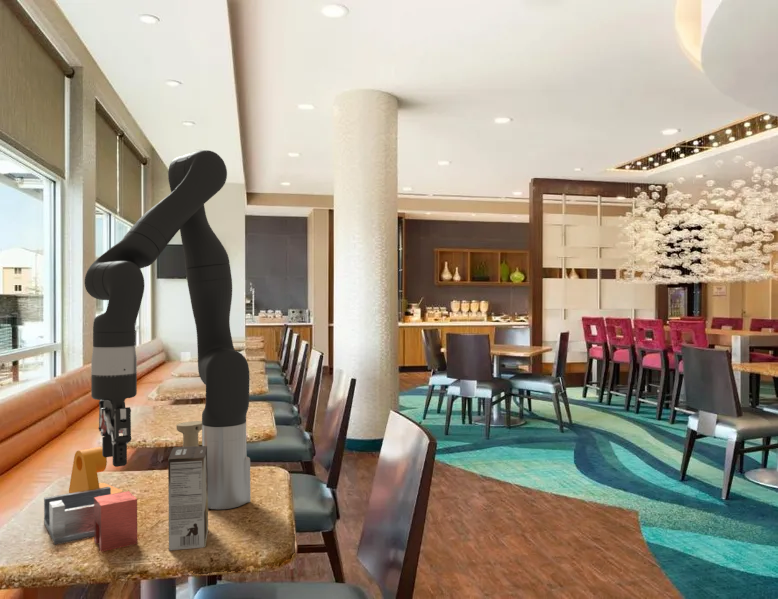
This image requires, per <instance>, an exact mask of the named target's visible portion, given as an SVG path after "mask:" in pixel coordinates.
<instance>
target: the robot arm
mask: <svg viewBox="0 0 778 599" xmlns="http://www.w3.org/2000/svg"><path fill="white" fill-rule="evenodd" d="M167 176H168V178H167V179H168V184H169V188H170V193H169V194H168V195H167V196H165V197H164V198H163V199H161V200H160V201H159V202H158V203H156V204H155V205H154V206H152V207H151V208H150V209H149V210H147V211H146V212H145V213H144V214H143V215H142V216H140V217H139V219H138V220H136V222H135V223H134V224H133V225H132V226H131V228H130V229H129V230H128V232H126V234H125V235H124V236H123V238H122V239H121V240H119V241H118V242H117V243H116V244H115V245H113V246H112V247H110V248H109V249H108V250H107V251H105V252H104V253H103V254H101V255H100V256H99V257H98V258H97V259H96V260H95V261H93V263H91V265H90V266H89V267H88V269H87V270H86V273H85V277H84V286H85V291H86V292H87V294H89V295H90V296H91V297H92V298H93V299H96V300H101V301H108V302H107V303H108V304H107V308H106V310H105V312H103V313H101V314H98V315H97V316H95V317H94V319H93V323H92V324H93V326H92V353H91V362H90V363H91V365H90V366H91V368H90V370H91V371H90V372H91V374H90V375H91V377H90V378H91V379H90V380H91V382H90V383H91V384H90V386H91V392H90V394H91V398H92V399H94V400H97V401H99V402H98V405H99V408H98V410H99V413H98V431H99V432H100V435H101V437H102V439H101V440H102V442H101V443H102V444H101V445H102V446H101V447H102V455H103V456H104V457H107V458H112V466H113V467H115V468H118V467H123V466H127V464H128V444H129V442H132V420H131V418H132V417H131V415H132V414H131V412H132V409H131V407H130V406H129V407H128V406H127V407H126V399H131V398H135V397H136V396H137V394H138V392H137V391H138V390H137V388H138V386H137V385H138V383H137V382H138V379H137V378H138V377H137V374H138V373H137V372H138V371H137V369H138V368H137V367H138V366H137V365H138V360H137V352H136V323H137V319H138V317H139V316H138V315H139V312H140V307H141V306H142V305H141V304H142V300H143V297H144V292H145V279H144V274H143V272H142V270H141V269H144V268H147V267H149V266H151V265H152V264H153V263H154V262H155V261H156V260H157V259H158V258H159V256H160V255H161V254H162V253H163V251H164V250H165V248H166V247H167V246H168V245H169V243H170V242H171V241H172V240H173V238H174V237H175V235H176V234H177V233H180V239H181V244H182V250H183V256H184V267H185V274H186V282H187V288H188V292H189V299H190V304H191V309H192V315H193V319H194V323H195V329H196V339H197V340H196V342H197V343H196V344H197V370H198V371H197V372H198V375H199V378H200V381H201V382H202V383H203V384H204V385H205V403H204V404H205V406H204V409H203V410H202V414H201V421H202V430H201V440H202V441H201V446H207V469H208V470H207V473H208V510H209V509H211V510H228V509H234V508H237V507H242V506H243V505H245V504H247V503H251V458H250V457H249V456H247V413H248V410H249V407H250V369H249V368H250V366H249V362H248V361H247V359H246V357H245V356H244V355H243V354H242V353H241V352H239V351H237V350H235V348H234V342H233V338H232V333H231V326H230V324H231V323H230V316H231V308H232V301H233V300H232V299H233V278H232V277H233V276H232V271H231V264H230V258H229V257H230V256H229V255H228V252H227V250H226V248H225V247H224V244H222V242H221V240H220V239H219V238H218V236H217V234H215V231H214V230H213V228H212V227H211V226H210V223H209V221H208V218H207V214H206V213H207V212H206V209H205V204H206V203H207V202H208V201H210V199H212V197H214V196H215V195H216V194H217V193H218V192H219V191H221V190H222V189H223V187H224V186H225V185H226V182H227V177H228V170H227V166H226V163H225V161H224V159H223V158H222V157H221V156H220V155H219V154H218V153H216V152H214V151H213V150H207V149H206V150H205V149H204V150H198V151H194V152H190V153H186V154H184V155H180V156H177V157H175V158H174V159H172V161H171V162H170V163H169V166H168V172H167ZM179 231H180V232H179ZM120 434H122V435H120Z"/></svg>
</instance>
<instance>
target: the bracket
mask: <svg viewBox="0 0 778 599" xmlns="http://www.w3.org/2000/svg"><path fill="white" fill-rule="evenodd" d="M107 458H108V457H104V456H103V455H102V446H96V447H91V448H84V449H80V450H76V451H75V453H74V457H73V464H72V470H71V476H70V481H69V487H68V494H69V493H75V492H81V491H86V490H92V489H98V488H104V487H110V488H111V494H115V493H121V492H124V490H122V489H120V488H118V487H115V486H112V485H110V484H109V483H106V482H105V483H104V482H99V477H98V476H99V475H98V473H102V472H105V471H106V469H107V464H108V459H107Z"/></svg>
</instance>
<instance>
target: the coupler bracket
mask: <svg viewBox="0 0 778 599" xmlns="http://www.w3.org/2000/svg"><path fill="white" fill-rule="evenodd" d="M109 494H111V488H110V487H104V488H98V489H92V490H86V491H81V492H75V493H69V492H68V493H65V494H58V495H52V496H47V497H46V496H45V497H43V523H44V526H45V527H46V530H47V533H49V534H48V535H49V536H50V538H51V540H52V542H53V545H54V546H56V545H60V544H65V543H70V542H74V541H79V540H80V541H81V540H84V539H88V538H89V539H90V538H92V537H93V538H94V497H98V496H104V495H109Z"/></svg>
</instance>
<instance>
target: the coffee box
mask: <svg viewBox="0 0 778 599" xmlns="http://www.w3.org/2000/svg"><path fill="white" fill-rule="evenodd" d="M167 461H168V467H167V468H168V470H167V472H168V473H167V474H168V477H167V478H168V482H167V483H168V485H167V486H168V551H177V550H178V551H179V550H190V549H201V548H205V547H206V545H207V540H208V539H207V538H208V534H209V533H208V532H209V508H208V473H207V470H208V469H207V446H202V445H201V446H200V445H199V446H198V447H196V446H185V447H183V446H175V447H172V449H171V452H170V454H169V456H168V458H167Z"/></svg>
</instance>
